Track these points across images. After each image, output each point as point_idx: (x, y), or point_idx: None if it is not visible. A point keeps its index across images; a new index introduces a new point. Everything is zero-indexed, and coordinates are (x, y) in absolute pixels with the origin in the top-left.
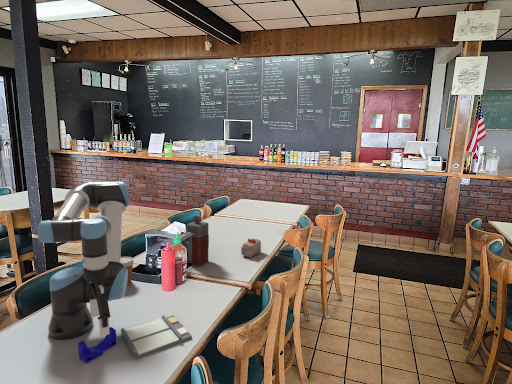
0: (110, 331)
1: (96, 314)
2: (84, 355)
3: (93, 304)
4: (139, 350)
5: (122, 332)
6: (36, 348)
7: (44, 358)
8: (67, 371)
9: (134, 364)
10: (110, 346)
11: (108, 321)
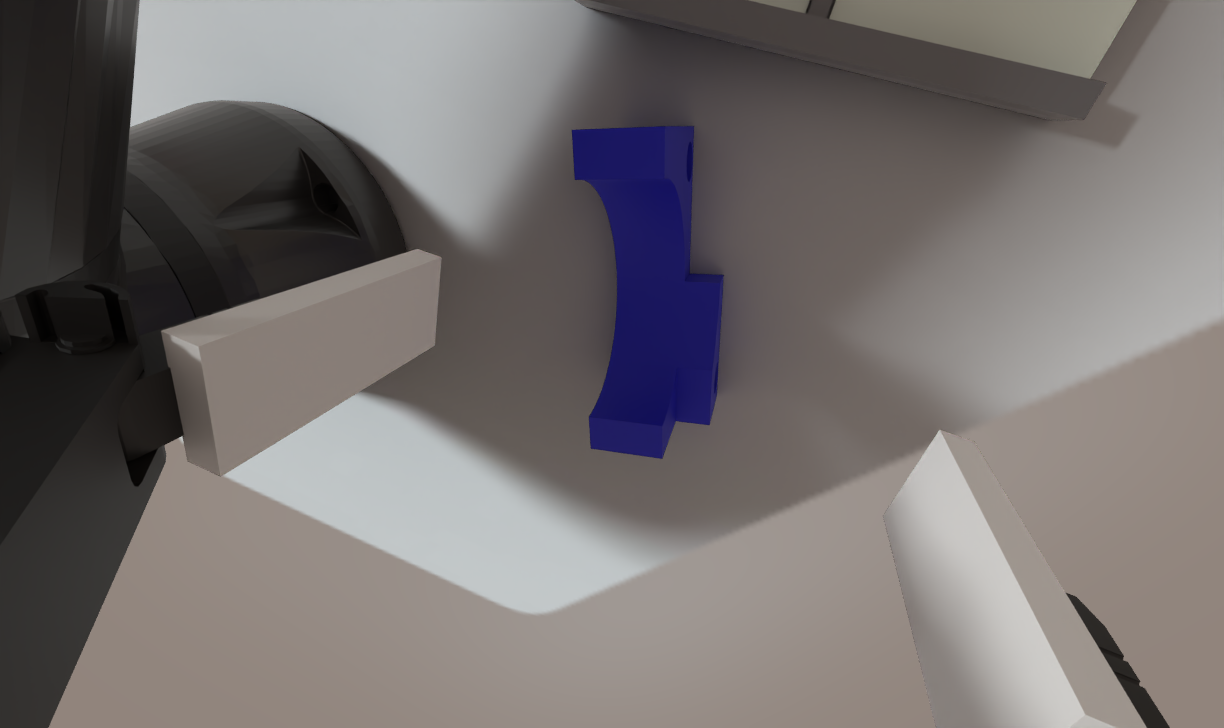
0: (637, 178)
1: (423, 298)
2: (700, 423)
3: (296, 389)
4: (1047, 30)
5: (624, 9)
6: (393, 458)
7: (499, 481)
8: (697, 484)
9: (1106, 173)
10: (690, 188)
11: (1063, 605)
